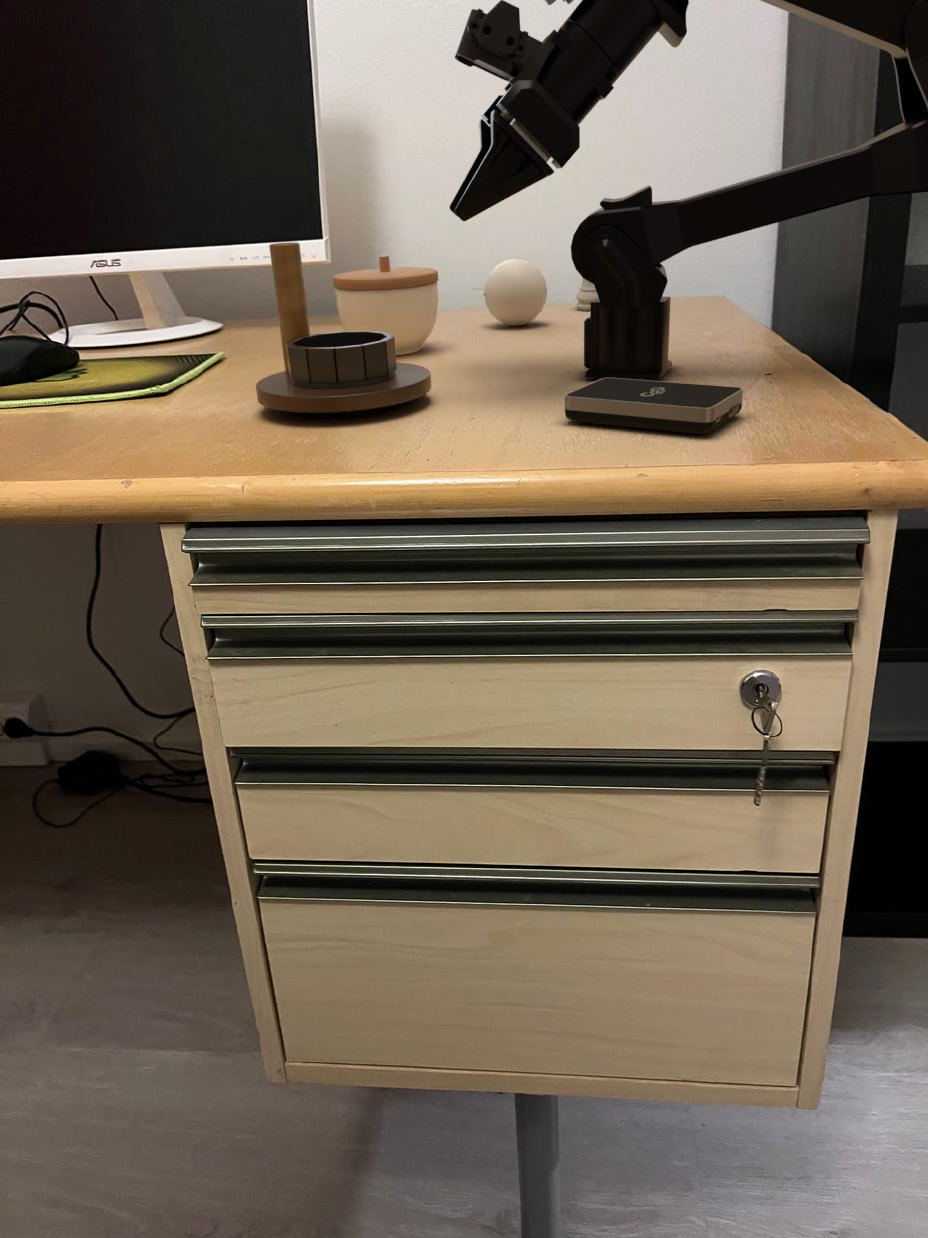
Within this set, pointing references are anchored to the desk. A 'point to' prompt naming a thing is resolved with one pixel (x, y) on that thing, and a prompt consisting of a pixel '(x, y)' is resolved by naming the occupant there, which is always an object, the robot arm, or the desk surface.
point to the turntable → (331, 356)
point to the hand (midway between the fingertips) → (455, 214)
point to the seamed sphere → (515, 292)
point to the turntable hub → (347, 412)
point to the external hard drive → (654, 404)
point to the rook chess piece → (586, 295)
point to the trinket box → (389, 302)
